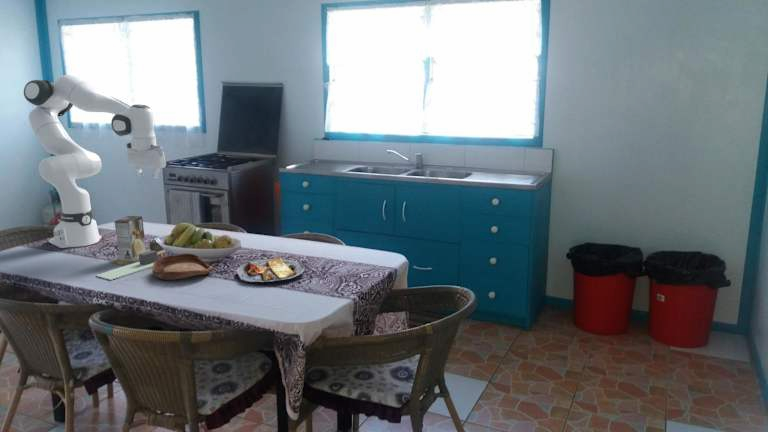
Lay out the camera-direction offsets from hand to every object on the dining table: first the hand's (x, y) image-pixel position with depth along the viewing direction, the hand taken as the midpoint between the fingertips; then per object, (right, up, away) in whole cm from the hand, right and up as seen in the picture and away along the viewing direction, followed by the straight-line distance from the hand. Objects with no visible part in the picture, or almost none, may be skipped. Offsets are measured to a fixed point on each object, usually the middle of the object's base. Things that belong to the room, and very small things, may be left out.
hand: (148, 177), depth 256 cm
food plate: (+57, -38, -33) cm, 76 cm away
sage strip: (+3, -37, -27) cm, 46 cm away
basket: (+25, -38, -32) cm, 55 cm away
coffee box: (-1, -33, -13) cm, 36 cm away
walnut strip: (+1, -32, -10) cm, 34 cm away
